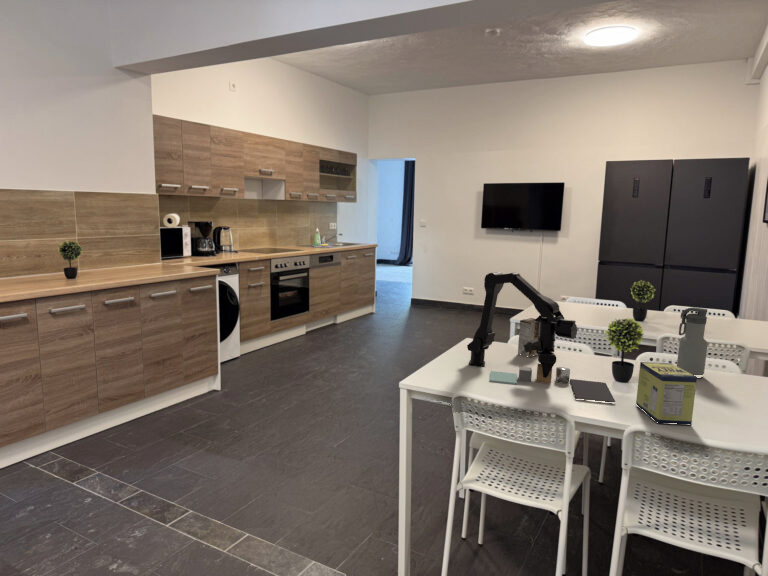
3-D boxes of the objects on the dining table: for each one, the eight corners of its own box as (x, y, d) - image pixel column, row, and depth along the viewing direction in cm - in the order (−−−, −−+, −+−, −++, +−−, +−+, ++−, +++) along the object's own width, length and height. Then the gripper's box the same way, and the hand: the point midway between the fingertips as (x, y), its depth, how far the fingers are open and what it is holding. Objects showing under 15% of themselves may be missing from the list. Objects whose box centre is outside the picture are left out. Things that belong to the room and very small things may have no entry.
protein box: (666, 407, 169) (671, 362, 167) (692, 426, 154) (698, 377, 152) (634, 405, 170) (639, 361, 168) (657, 424, 154) (663, 375, 152)
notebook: (569, 382, 194) (575, 401, 173) (570, 378, 193) (575, 397, 173) (605, 386, 190) (615, 406, 170) (605, 382, 190) (615, 402, 170)
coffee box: (528, 351, 236) (531, 317, 234) (540, 354, 231) (543, 320, 229) (516, 354, 230) (519, 319, 228) (529, 357, 225) (531, 322, 223)
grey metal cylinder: (554, 378, 196) (555, 366, 196) (568, 380, 195) (569, 367, 195) (555, 382, 192) (557, 369, 191) (569, 384, 190) (570, 371, 190)
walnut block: (536, 378, 196) (537, 363, 195) (549, 379, 195) (551, 364, 194) (537, 382, 191) (538, 367, 190) (550, 383, 190) (552, 368, 189)
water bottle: (671, 374, 207) (678, 307, 203) (679, 370, 213) (687, 305, 209) (698, 380, 199) (707, 311, 196) (706, 376, 206) (715, 309, 202)
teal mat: (490, 372, 202) (490, 370, 202) (516, 374, 199) (516, 373, 199) (489, 381, 190) (489, 380, 190) (517, 384, 188) (517, 382, 188)
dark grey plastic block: (518, 377, 196) (519, 366, 196) (530, 378, 195) (531, 367, 195) (518, 381, 192) (519, 369, 192) (531, 382, 191) (531, 371, 190)
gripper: (524, 327, 201) (521, 365, 204) (525, 337, 183) (522, 379, 186) (553, 329, 199) (550, 367, 201) (558, 340, 181) (554, 382, 183)
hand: (543, 374), depth 193 cm, fingers open, 9 cm apart
